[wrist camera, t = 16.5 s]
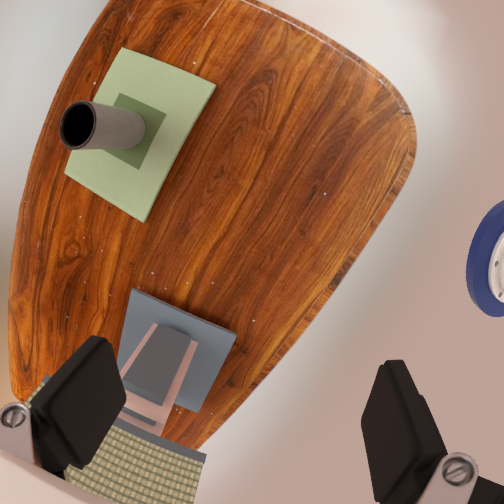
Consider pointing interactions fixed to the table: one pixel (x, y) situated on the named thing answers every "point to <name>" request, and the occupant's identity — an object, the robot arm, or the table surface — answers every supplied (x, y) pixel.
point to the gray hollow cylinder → (100, 127)
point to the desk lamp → (155, 404)
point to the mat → (156, 130)
